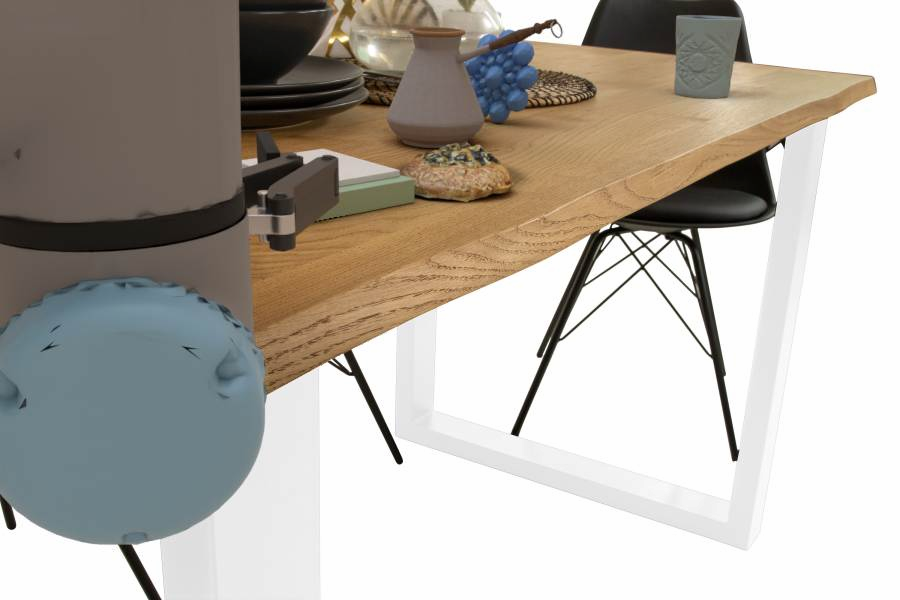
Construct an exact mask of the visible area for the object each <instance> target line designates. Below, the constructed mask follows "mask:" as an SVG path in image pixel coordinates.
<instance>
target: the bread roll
mask: <svg viewBox="0 0 900 600" xmlns="http://www.w3.org/2000/svg"><path fill="white" fill-rule="evenodd" d="M400 175H402V176H406V177H409V178H413V179H415V187H414V195H416V196H420V197H423V198H427V199H432V198H433V199H443V200H452V201H460V202H464V203H467V202H469V201H473V200H476V199H477V200H479V199H481V198H487V197H488V196H489V195H493V194H497V195H498V194H499V195H500V194H505V193H508V192H509V190H510V189H511V188H512V187H513V186H515V182H513V181H512V179H511V174H510V172H509V170H508V168H507V167H506V166H505V165H504V164H503V163H501V161H500V160H499V159H498V158H496V157H495V155H494V154H493V153H491V152H490V151H489V152H488V151H485V150H484V148H483V146H482V145H481V144H475V145H471V144H469V143H466V144H464V145H462V146H460V145H459V144H458V143H454V144H451V145H447V146H444V147H442V148H438V149H434V150H431V151H426V152H424V153H418V154H417V155H416V156H415V157H414V159H413V160H412V161H410V162H409V163H408V164H407V165H406V166H405V167H404V168H403V169H402V172H401V173H400Z"/></svg>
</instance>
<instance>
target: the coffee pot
mask: <svg viewBox="0 0 900 600" xmlns="http://www.w3.org/2000/svg"><path fill="white" fill-rule="evenodd" d="M556 25H558V27H559V30H560V35H559V36H558V35H557V34H556V33H555V32H554V30H553V27H555V26H556ZM546 29H547V30H549V29H550V33H551V34H552V35H553V36H554V37H555V38H556V39H561V38H562V37H563V33H564V32H563V31H564V30H563V27H562V25H561V23H559V22H558V20H557V18H551V19H547V20H545V21H544V22H542V23H539V22H535V23H534V24H533V26H529V27H524V28H520V29H517V30H513V31H514V32H512V33H510V34H508V35H506V36H504V37H502V38H499V39H497V40H495V41H493V42H491V43H489V44H488V45H485V46H482V47H479V48H478V47H477V48H473V49H470V50H468V51H466V52H463V53H461V51H460V46H461V42H462V37H463V36H464V35H466V31H465V30H464V29H460V28H453V27H432V26H431V27H413V28H409V30H408V33H409V34H411V35H412V40H413V44H414V49H413V52H412V54H411V56H410V59H409V61H408V63H407V66H406V67H405V70H404V72H403V75H402V77H401V80H400V82H399V85H398V87H397V89H396V92H395V94H394V97H393V99H392V101H391V103H390V106H389V108H388V111H387V113H386V121H387V123H388V126H389V128H390V129H391V131H392V132H393V133H394V134H395V135H396V136H397V137H400V138H401V139H402V143H404V144H405V145H408V146H412V147H417V148H427V149H428V148H429V149H440V148H442V147H444V146H447V145H451V144H454V143H458V144H459V145H460V146H462V145H464V144H466V143H468V140H470V139H472V138H474V137H475V136H476V135H477V134H478V133H479V131H480V130H481V129H482V127H483V125H484V123H485V117H484V115H483V113H482V110H481V107H480V105H479V102H478V99H477V97H476V94H475V91H474V88H473V86H472V83H471V80H470V78H469V77H470V75H468V72H467V70H466V67H465V64H464V63H465V61H467V60H470V59H472V58H474V57H477V56H479V55H482V54H484V53H486V52H489V51H493V50H496V49H499V48H502V47H505V46H508V45H511V44H515V43H521V42H524V40H526V39H528V38H529V37H532V36H533V35H535V34H537V35H541V34H542V33H543V31H544V30H546ZM468 144H469V143H468Z"/></svg>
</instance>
